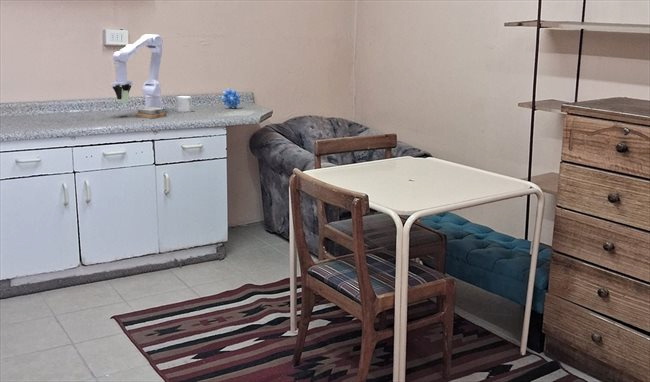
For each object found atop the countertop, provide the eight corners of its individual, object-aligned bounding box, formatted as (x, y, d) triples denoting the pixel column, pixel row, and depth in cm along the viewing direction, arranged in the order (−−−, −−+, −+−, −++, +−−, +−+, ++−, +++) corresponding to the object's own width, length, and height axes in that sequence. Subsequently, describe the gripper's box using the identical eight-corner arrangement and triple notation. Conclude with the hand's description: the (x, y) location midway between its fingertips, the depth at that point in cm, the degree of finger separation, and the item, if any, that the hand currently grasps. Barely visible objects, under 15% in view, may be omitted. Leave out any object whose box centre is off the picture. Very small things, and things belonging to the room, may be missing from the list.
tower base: (150, 115, 409) (149, 111, 408) (166, 117, 404) (166, 113, 403) (135, 118, 399) (135, 113, 398) (152, 120, 393) (151, 115, 393)
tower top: (150, 111, 407) (150, 107, 407) (164, 113, 403) (164, 108, 402) (138, 113, 399) (137, 109, 398) (152, 115, 394) (152, 110, 393)
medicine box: (192, 111, 426) (191, 96, 424) (189, 112, 422) (189, 97, 420) (178, 110, 427) (178, 96, 425) (176, 111, 423) (176, 96, 421)
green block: (122, 101, 401) (122, 90, 400) (128, 101, 399) (128, 90, 398) (116, 101, 397) (116, 90, 396) (123, 102, 395) (122, 91, 394)
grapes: (223, 109, 434) (223, 89, 431) (220, 108, 440) (220, 88, 437) (242, 108, 438) (242, 89, 435) (238, 107, 444) (238, 87, 441)
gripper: (125, 72, 403) (126, 97, 406) (106, 74, 390) (107, 99, 394) (134, 73, 399) (136, 97, 403) (115, 75, 387) (117, 100, 390)
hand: (122, 98), depth 398 cm, fingers closed on green block, 4 cm apart
